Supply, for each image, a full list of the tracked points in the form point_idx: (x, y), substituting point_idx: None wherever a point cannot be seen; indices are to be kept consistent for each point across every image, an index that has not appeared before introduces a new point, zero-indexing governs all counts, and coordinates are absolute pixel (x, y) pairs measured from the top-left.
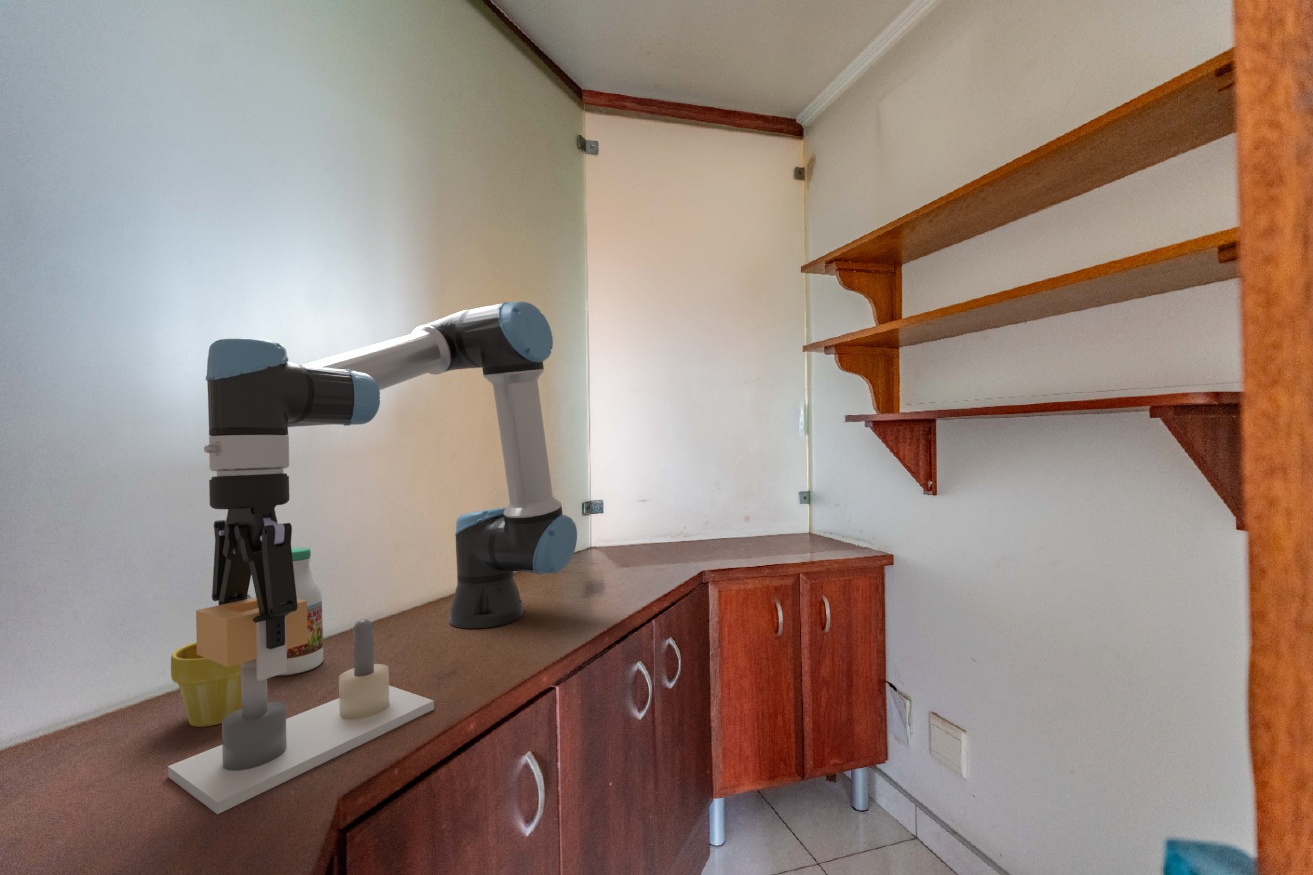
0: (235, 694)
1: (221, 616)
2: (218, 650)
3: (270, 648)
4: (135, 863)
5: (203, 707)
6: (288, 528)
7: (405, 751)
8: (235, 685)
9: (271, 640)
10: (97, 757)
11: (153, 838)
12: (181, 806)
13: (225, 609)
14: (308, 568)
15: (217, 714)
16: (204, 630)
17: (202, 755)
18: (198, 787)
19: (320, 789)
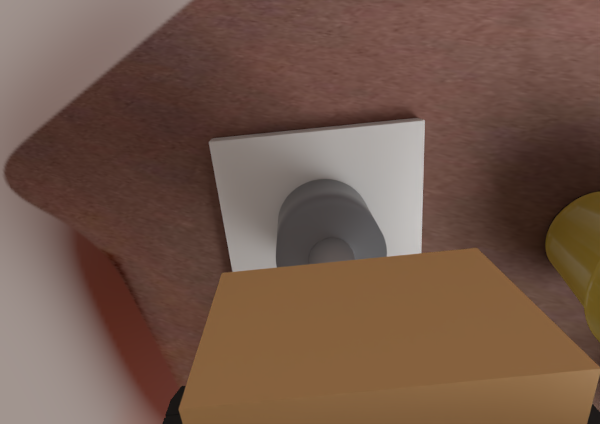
0: (568, 268)
1: (295, 409)
2: (293, 290)
3: (182, 388)
4: (165, 24)
5: (589, 216)
6: None
7: (170, 353)
8: (579, 279)
9: (166, 414)
10: None
11: (220, 58)
12: (288, 108)
13: None
14: None
15: (561, 228)
16: (444, 314)
17: (411, 168)
18: (289, 135)
19: (161, 249)
